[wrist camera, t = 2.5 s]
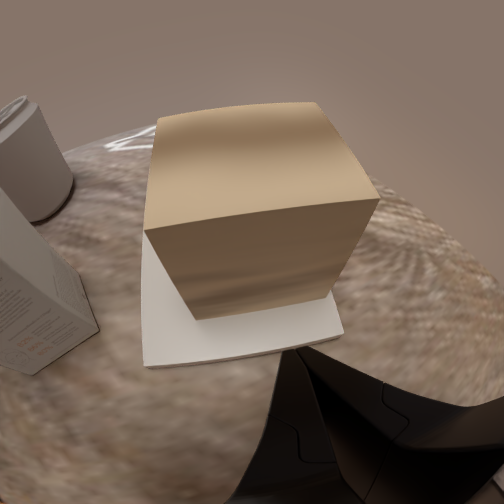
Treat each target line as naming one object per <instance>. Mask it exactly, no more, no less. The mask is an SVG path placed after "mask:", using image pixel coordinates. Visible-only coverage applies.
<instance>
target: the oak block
mask: <svg viewBox="0 0 504 504" xmlns="http://www.w3.org/2000/svg"><path fill="white" fill-rule="evenodd" d="M379 200H380V196H379V194H378V193H377V191H376V189H375V188H374V186H373V184H372V183H371V181H370V179H369V178H368V176H367V175H366V173H365V171H364V170H363V168H362V167H361V165H360V164H359V162H358V161H357V159H356V157H355V156H354V155H353V153H352V152H351V150H350V149H349V147H348V146H347V144H346V143H345V141H344V140H343V139H342V137H341V136H340V134H339V133H338V132H337V130H336V129H335V128H334V126H333V125H332V124H331V122H330V121H329V119H328V118H327V117H326V115H324V113H323V112H322V110H321V109H320V108H319V107H318V105H317V104H316V103H315V102H303V103H302V102H301V103H300V102H299V103H271V104H255V105H243V106H233V107H224V108H216V109H209V110H202V111H195V112H189V113H183V114H178V115H173V116H168V117H163V118H158V122H157V127H156V132H155V138H154V144H153V150H152V157H151V164H150V171H149V179H148V187H147V196H146V206H145V217H144V232H145V234H146V236H147V238H148V240H149V241H150V243H151V245H152V247H153V249H154V251H155V252H156V254H157V256H158V258H159V260H160V261H161V263H162V265H163V267H164V269H165V270H166V272H167V274H168V276H169V277H170V279H171V281H172V282H173V284H174V286H175V287H176V289H177V291H178V292H179V294H180V296H181V297H182V299H183V301H184V302H185V304H186V306H187V307H188V309H189V310H190V312H191V314H192V315H193V317H194V318H195V320H203V319H211V318H217V317H224V316H231V315H237V314H243V313H249V312H255V311H261V310H267V309H272V308H278V307H283V306H288V305H293V304H299V303H304V302H309V301H313V300H318V299H323V298H326V297H327V295H328V293H329V292H330V290H331V288H332V287H333V285H334V283H335V282H336V280H337V278H338V277H339V275H340V273H341V271H342V270H343V268H344V266H345V265H346V263H347V261H348V259H349V257H350V256H351V254H352V252H353V250H354V248H355V247H356V245H357V243H358V241H359V239H360V237H361V236H362V234H363V232H364V230H365V228H366V226H367V224H368V222H369V220H370V218H371V216H372V214H373V212H374V210H375V208H376V206H377V204H378V202H379Z"/></svg>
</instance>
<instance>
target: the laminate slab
mask: <svg viewBox="0 0 504 504" xmlns="http://www.w3.org/2000/svg"><path fill="white" fill-rule="evenodd" d="M150 164H151V163H150ZM149 171H150V170H149ZM148 179H149V177H148ZM147 187H148V186H147ZM146 196H147V194H146ZM145 206H146V204H145ZM144 217H145V215H144ZM141 323H142V346H143V362H144V367H147V368H149V369H153V368H166V367H178V366H188V365H197V364H206V363H213V362H221V361H228V360H235V359H241V358H247V357H253V356H259V355H264V354H270V353H275V352H280V351H284V350H288V349H294V348H298V347H302V346H308V345H312V344H316V343H320V342H324V341H328V340H332V339H336V338H340V337H341V336H342V335H343V334H344V331H343V327H342V324H341V320H340V317H339V314H338V310H337V307H336V304H335V301H334V298H333V294H332V291H331V290H330V292H329V293H328V295H327V297H326V298H323V299H318V300H313V301H309V302H304V303H299V304H293V305H288V306H283V307H278V308H272V309H267V310H261V311H255V312H249V313H243V314H237V315H231V316H224V317H217V318H211V319H203V320H195V318H194V317H193V315H192V314H191V312H190V310H189V309H188V307H187V306H186V304H185V302H184V301H183V299H182V297H181V296H180V294H179V292H178V291H177V289H176V287H175V286H174V284H173V282H172V281H171V279H170V277H169V276H168V274H167V272H166V270H165V269H164V267H163V265H162V263H161V261H160V260H159V258H158V256H157V254H156V252H155V251H154V249H153V247H152V245H151V243H150V241H149V240H148V238H147V236H146V234H145V232H144V228H143V244H142V267H141Z"/></svg>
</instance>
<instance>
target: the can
mask: <svg viewBox="0 0 504 504" xmlns="http://www.w3.org/2000/svg"><path fill="white" fill-rule="evenodd" d="M27 97H28V96H22V97H19V98H18V99H16V100H14V101H12V102H11V103H10V104H8V105H7V106H5V107H4V108H3V109H1V110H0V187H1V189H2V190H3V191H4V192H5V194H6V195H7V196H8V197H9V199H10V200H11V201H12V202H13V204H14V205H15V206H16V207H17V208H18V210H19V211H20V212H21V213H22V214H23V216H24V217H25V218H26V219H27V220H28V222H33V221H40V220H44V219H46V218H48V217H50V216H51V215H52V214H54V213H55V212H56V211H57V210H58V209H59V208H60V207H61V206H62V205H63V203H64V202H65V201H66V199H67V197H68V195H69V193H70V189H71V186H72V182H73V175H72V172H71V170H70V169H69V167H68V165H67V163H66V161H65V159H64V158H63V156H62V154H61V152H60V150H59V148H58V146H57V144H56V142H55V141H54V138H53V136H52V134H51V132H50V130H49V128H48V126H47V124H46V121H45V119H44V117H43V115H42V112H41V110H40V108H39V105H38V104H37V103H33V102H29V101H28V100H27Z"/></svg>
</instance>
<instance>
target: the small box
mask: <svg viewBox="0 0 504 504" xmlns="http://www.w3.org/2000/svg"><path fill="white" fill-rule="evenodd" d="M98 331H99V329H98V327H97V324H96V322H95V319H94V317H93V314H92V311H91V309H90V306H89V303H88V300H87V298H86V295H85V292H84V289H83V286H82V283H81V280H80V277H79V274H78V272H77V271H76V270H75V269H73V268H72V267H71V266H70V265H69V264H68V263H67V262H66V261H65V260H64V259H63V258H62V257H61V256H60V255H59V254H58V253H57V252H56V251H55V250H54V249H53V248H52V247H51V246H50V245H49V243H48V242H47V241H46V240H45V239H44V238H43V237H42V236H41V235H40V234H39V233H38V232H37V231H36V229H35V228H34V227H33V226H32V225H31V224H30V223H29V222H28V220H27V219H26V218H25V217H24V216H23V214H22V213H21V212H20V211H19V210H18V208H17V207H16V206H15V205H14V204H13V202H12V201H11V200H10V199H9V197H8V196H7V195H6V194H5V192H4V191H3V190H2V189H1V187H0V365H2V366H4V367H7V368H10V369H13V370H16V371H19V372H22V373H25V374H28V375H34V374H35V373H37V372H38V371H39V370H41V369H42V368H44V367H45V366H47V365H48V364H50V363H51V362H53V361H54V360H56V359H57V358H59V357H60V356H62V355H63V354H65V353H66V352H68V351H69V350H71V349H72V348H74V347H75V346H77V345H78V344H80V343H81V342H83V341H84V340H86V339H87V338H89V337H90V336H92V335H93V334H95V333H96V332H98Z"/></svg>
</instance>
